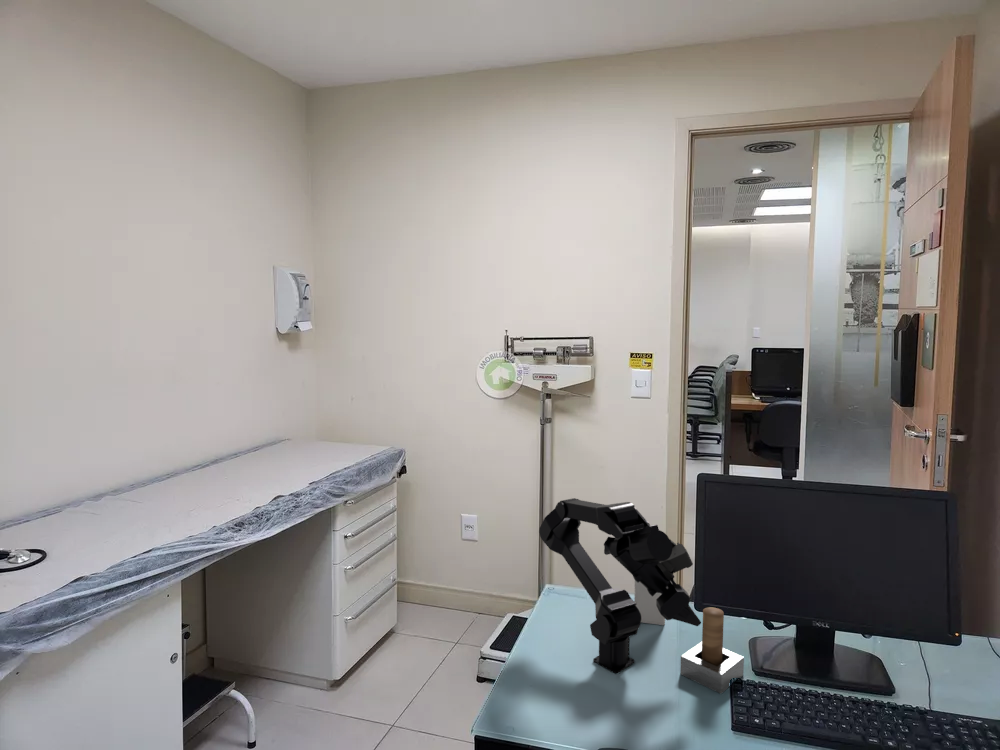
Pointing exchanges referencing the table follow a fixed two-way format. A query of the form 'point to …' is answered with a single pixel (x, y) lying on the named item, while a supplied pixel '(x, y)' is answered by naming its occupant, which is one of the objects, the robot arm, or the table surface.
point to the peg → (712, 635)
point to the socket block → (711, 668)
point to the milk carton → (647, 605)
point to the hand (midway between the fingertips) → (692, 613)
